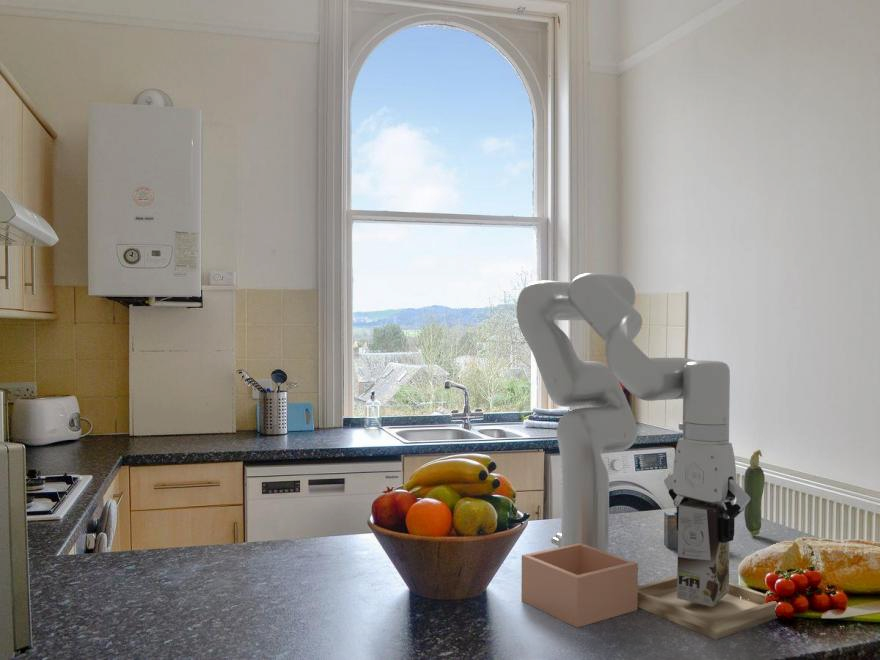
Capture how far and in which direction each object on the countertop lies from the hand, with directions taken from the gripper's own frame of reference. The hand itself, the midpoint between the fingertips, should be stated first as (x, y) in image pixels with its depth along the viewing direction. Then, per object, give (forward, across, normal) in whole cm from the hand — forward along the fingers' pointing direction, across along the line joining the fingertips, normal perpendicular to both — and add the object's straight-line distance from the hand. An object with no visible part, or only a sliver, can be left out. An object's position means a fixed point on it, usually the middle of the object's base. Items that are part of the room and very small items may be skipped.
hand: (704, 534), depth 128 cm
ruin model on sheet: (+14, -25, +28) cm, 40 cm away
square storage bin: (+13, -13, -17) cm, 25 cm away
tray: (+13, 0, 0) cm, 13 cm away
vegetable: (+13, -23, +48) cm, 55 cm away
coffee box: (+11, 0, 0) cm, 11 cm away
